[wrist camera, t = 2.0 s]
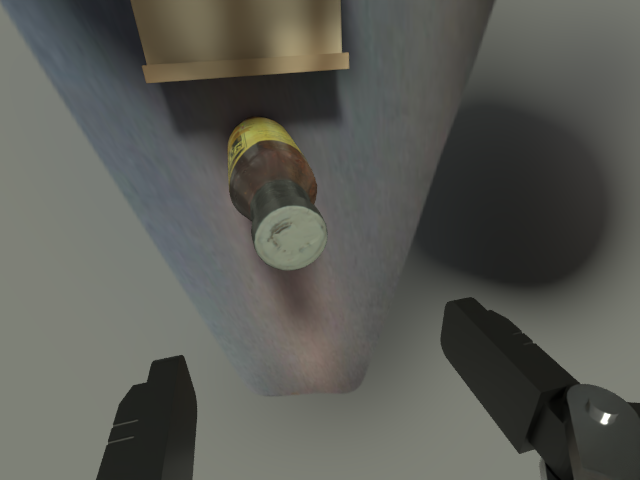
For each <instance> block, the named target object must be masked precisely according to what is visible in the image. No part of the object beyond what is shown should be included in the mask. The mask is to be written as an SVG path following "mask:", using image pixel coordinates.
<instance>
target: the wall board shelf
mask: <svg viewBox="0 0 640 480" xmlns="http://www.w3.org/2000/svg"><path fill="white" fill-rule="evenodd" d="M130 1H131V5H132V8H133V12H134V16H135V20H136V24H137V28H138V32H139V36H140V40H141V43H142V47H143V51H144V55H145V59H146V63H147V65H142V68H143V72H144V76H145V80H146V83H156V82H170V81H184V80H198V79H212V78H226V77H240V76H254V75H268V74H282V73H295V72H309V71H323V70H337V69H349V52H347V53H342V38H341V0H130Z"/></svg>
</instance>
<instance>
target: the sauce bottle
mask: <svg viewBox="0 0 640 480" xmlns="http://www.w3.org/2000/svg"><path fill="white" fill-rule="evenodd" d="M228 176H229V192H230V197H231V200H232V203H233V205H234V206H235V208H236V209H237V210H238V211H239V212H240V213H241V214H242V215H244V216H245V217H247V218H248V219H249V220H251V221H252V229H251V233H252V240H253V243H254V247H255V250H256V252H257V254H258V256H259V257H260V258H261V259H262V260H263V261H264V262H265V263H266V264H267V265H269V266H271V267H274V268H277V269H280V270H296V269H300V268H303V267H305V266H307V265H309V264H311V263H312V262H313V261H315V259H316V258H318V257H319V256H320V254H321V253H322V252H323V250H324V248H325V245H326V243H327V228H326V224H325V221H324V219H323V217H322V216H321V214H320V212H319V211H318V209H317V208H316V207H315V206H314V203H315V200H316V194H317V184H316V181H315V177H314V174H313V172H312V169H311V168H310V166H309V164H308V162H307V160H306V158H305V157H304V155H303V154H302V153H301V151H300V150H299V148H298V147H297V145H296V144H295V143H294V141H293V140H292V138H291V137H290V135H289V134H288V133H287V131H286V130H285V129H284V128H283V127H282V126H281V125H280V124H278V123H277V122H275V121H274V120H271V119H268V118H264V117H251V118H247V119H246V120H244V121H242V122H241V123H240V124H239V125H238V126H236V127H235V129H234V130H233V132H232V134H231V136H230V138H229V141H228Z"/></svg>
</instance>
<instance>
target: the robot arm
mask: <svg viewBox="0 0 640 480" xmlns="http://www.w3.org/2000/svg"><path fill="white" fill-rule="evenodd" d="M441 346H442V349H443V352H444V354H445V356H446V358H447V359H448V360H449V362H450V363H451V364H452V366H453V367H454V368H455V370H456V371H457V372H458V374H459V375H460V376H461V378H462V379H463V380H464V381H465V383H466V384H467V386H468V387H469V388H470V390H471V391H472V392H473V393H474V395H475V396H476V397H477V399H478V400H479V401H480V403H481V404H482V405H483V407H484V408H485V409H486V410H487V412H488V413H489V414H490V416H491V417H492V419H493V420H494V421H495V423H496V424H497V425H498V426H499V428H500V429H501V430H502V432H503V433H504V434H505V436H506V437H507V438H508V440H509V441H510V442H511V444H512V445H513V446H514V448H515V449H516V450H517V452H518V453H519V454H521V453H524V452H527V451H530V450H534V449H535V450H536V451H537V452H538V453H539V454H540V456H541V459H540V462H539V467H540V476H541V480H640V403H630V402H626V401H625V400H624V399H622V398H621V397H619V396H618V395H616V394H615V393H613V392H611V391H609V390H607V389H604V388H602V387H599V386H595V385H590V384H580V383H579V382H578V381H577V380H576V379H574V378H573V377H572V376H571V375H570V374H569V373H568V372H567V371H566V370H564V369H563V368H562V367H561V366H560V365H559V364H558V363H557V362H556V361H554V360H553V359H552V358H551V357H550V356H549V355H548V354H547V353H545V352H544V351H543V350H542V349H541V348H540V347H539V346H537V344H534V343H533V341H532V340H531V339H530V338H529V337H528V336H527V335H525V334H524V333H523V334H522V332H521V330H520V329H519V328H518V327H516V326H515V325H514V324H513V323H512V322H511V321H510V320H509V319H507V318H505V317H503V316H501V315H499V314H498V313H496V312H494V311H492V310H489V311H487V310H486V309H485V308H484V307H483V306H482V305H481V304H480V303H479V302H478V301H477V300H475V299H474V298H472V297H469V298H464V299H459V300H454V301H449V302H447V304H446V306H445V311H444V318H443V325H442V332H441ZM196 423H197V401H196V395H195V391H194V387H193V384H192V381H191V377H190V374H189V371H188V368H187V364H186V361H185V358H184V356H183V355H179V356H174V357H169V358H164V359H160V360H155V361H153V362H152V364H151V367H150V371H149V376H148V380H147V383H142V384H138V385H133V386H132V387H131V389H130V390H129V392H128V393H127V394H126V396H125V397H124V398H123V400H122V401H121V403H120V404H119V407H118V410H117V413H116V417H115V420H114V423H113V428H112V429H111V433H110V436H109V439H108V445H107V446H106V449H105V452H104V456H103V459H102V462H101V466H100V468H99V472H98V475H97V478H96V480H192V476H193V464H194V449H195V437H196Z"/></svg>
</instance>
